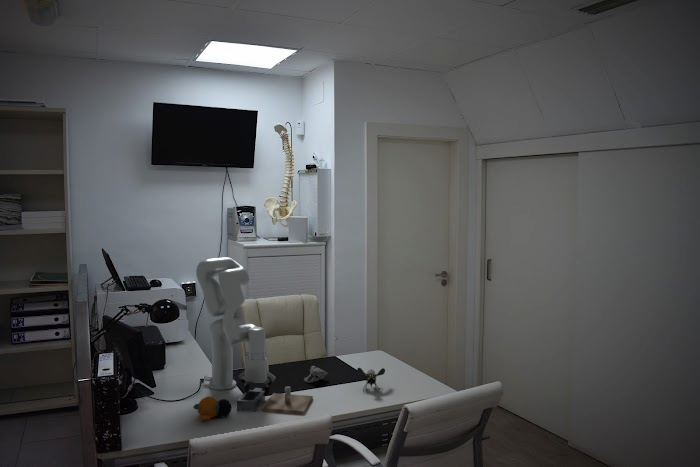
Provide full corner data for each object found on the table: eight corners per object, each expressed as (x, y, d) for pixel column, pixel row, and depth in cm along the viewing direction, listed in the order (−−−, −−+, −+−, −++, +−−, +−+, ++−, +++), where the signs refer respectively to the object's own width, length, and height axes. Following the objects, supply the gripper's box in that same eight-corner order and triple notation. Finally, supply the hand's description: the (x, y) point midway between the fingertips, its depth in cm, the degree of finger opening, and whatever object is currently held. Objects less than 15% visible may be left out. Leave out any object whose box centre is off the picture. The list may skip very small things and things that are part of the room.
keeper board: (261, 411, 237) (261, 392, 236) (273, 396, 254) (273, 378, 253) (303, 414, 234) (304, 395, 234) (312, 399, 251) (312, 381, 250)
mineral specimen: (311, 389, 278) (318, 390, 269) (299, 379, 276) (306, 379, 267) (322, 372, 282) (330, 373, 273) (310, 362, 280) (317, 362, 271)
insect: (356, 396, 256) (356, 374, 255) (356, 383, 272) (357, 362, 271) (385, 396, 255) (386, 375, 255) (384, 384, 272) (385, 363, 271)
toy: (193, 397, 235) (230, 398, 239) (191, 422, 231) (228, 423, 235) (196, 394, 224) (234, 396, 228) (193, 420, 221) (232, 422, 225)
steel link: (254, 411, 237) (254, 402, 236) (236, 410, 238) (236, 400, 238) (267, 397, 252) (267, 388, 252) (250, 396, 254) (250, 387, 253)
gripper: (234, 357, 247) (235, 396, 249) (273, 359, 245) (273, 398, 246) (240, 352, 255) (241, 390, 256) (278, 354, 252) (278, 392, 253)
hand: (257, 394), depth 251 cm, fingers closed on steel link, 8 cm apart
